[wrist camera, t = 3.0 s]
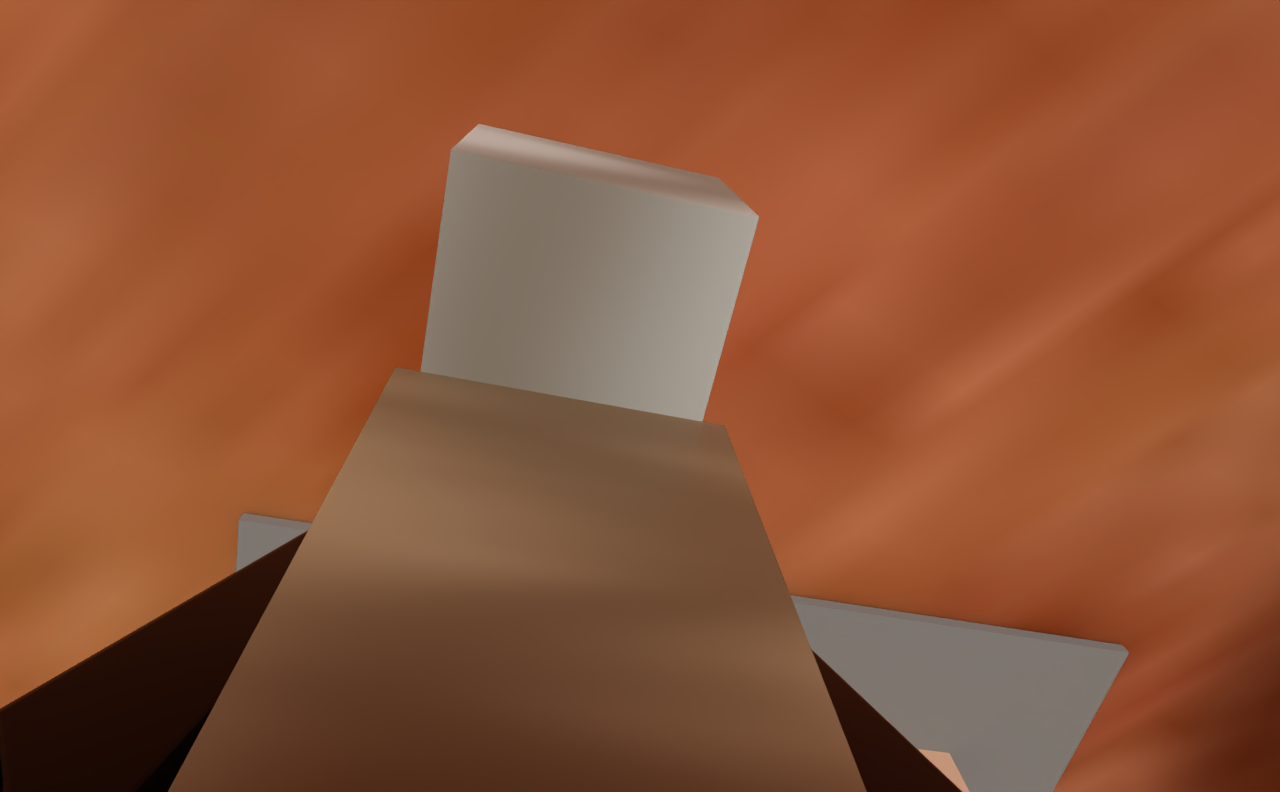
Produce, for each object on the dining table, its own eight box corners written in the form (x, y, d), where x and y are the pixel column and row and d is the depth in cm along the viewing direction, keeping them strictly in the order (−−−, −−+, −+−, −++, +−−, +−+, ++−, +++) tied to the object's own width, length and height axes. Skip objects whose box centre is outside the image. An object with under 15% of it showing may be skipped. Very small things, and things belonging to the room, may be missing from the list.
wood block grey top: (737, 182, 11) (1319, 695, 2) (606, 678, 14) (659, 1683, 5) (458, 119, 10) (-72, 494, 2) (384, 649, 13) (55, 1717, 5)
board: (1122, 645, 22) (1129, 652, 22) (945, 969, 27) (949, 978, 27) (243, 513, 19) (238, 520, 18) (221, 910, 23) (216, 920, 23)
